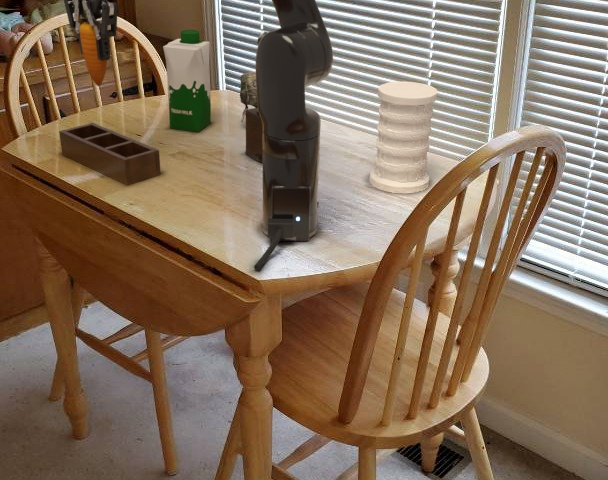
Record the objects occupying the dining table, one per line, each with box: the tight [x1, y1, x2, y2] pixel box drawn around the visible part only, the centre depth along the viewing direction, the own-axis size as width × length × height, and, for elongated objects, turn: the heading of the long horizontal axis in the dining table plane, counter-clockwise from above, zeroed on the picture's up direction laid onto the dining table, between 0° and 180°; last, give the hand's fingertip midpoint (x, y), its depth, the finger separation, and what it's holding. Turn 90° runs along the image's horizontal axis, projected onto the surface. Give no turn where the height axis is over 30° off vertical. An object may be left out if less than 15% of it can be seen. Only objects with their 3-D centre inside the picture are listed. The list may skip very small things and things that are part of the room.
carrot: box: [79, 7, 108, 87], centre depth 148 cm, size 5×5×15 cm
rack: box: [58, 122, 162, 186], centre depth 160 cm, size 8×22×5 cm, turn 47°
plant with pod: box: [239, 31, 269, 123], centre depth 179 cm, size 8×11×20 cm
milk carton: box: [162, 29, 212, 133], centre depth 177 cm, size 9×9×20 cm
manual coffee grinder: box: [244, 107, 263, 164], centre depth 161 cm, size 16×11×18 cm
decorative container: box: [369, 81, 438, 194], centre depth 153 cm, size 12×12×18 cm
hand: (95, 56), depth 149 cm, fingers closed on carrot, 5 cm apart
